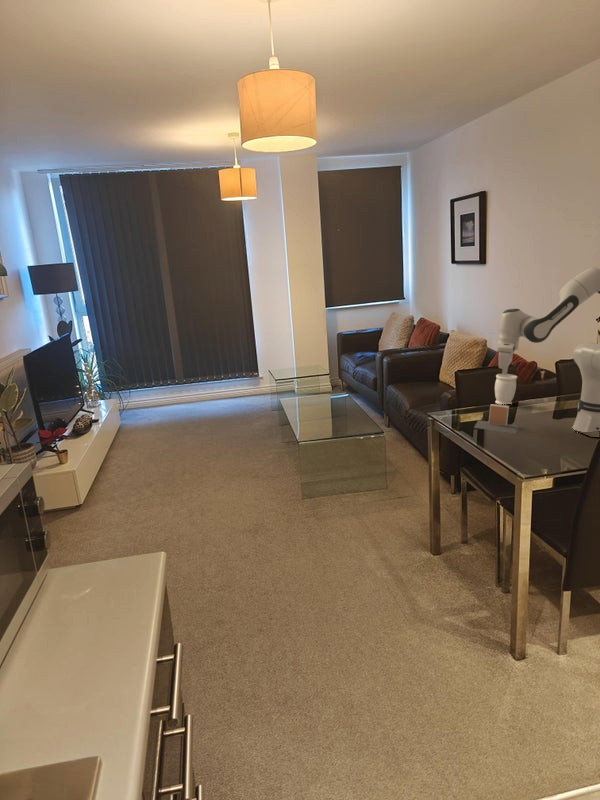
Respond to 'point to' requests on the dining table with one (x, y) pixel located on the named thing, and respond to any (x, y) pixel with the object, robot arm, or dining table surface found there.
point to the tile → (498, 414)
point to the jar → (505, 388)
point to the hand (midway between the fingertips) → (504, 374)
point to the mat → (496, 427)
